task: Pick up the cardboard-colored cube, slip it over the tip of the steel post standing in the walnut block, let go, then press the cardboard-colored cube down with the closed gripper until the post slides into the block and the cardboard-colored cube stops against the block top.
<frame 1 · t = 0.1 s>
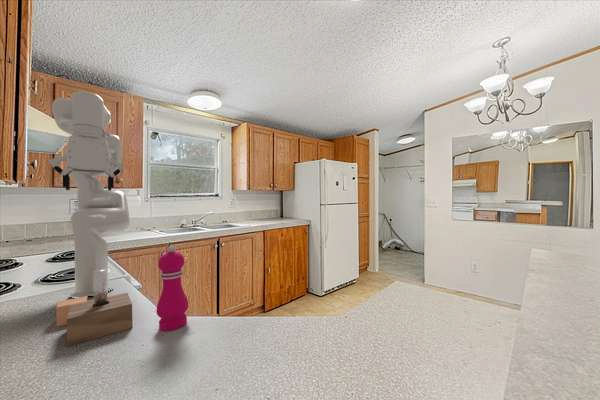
hand: (89, 189, 75), 37 cm above the countertop, tool pointing down, fingers open, 9 cm apart
cardboard-colored cube: (72, 319, 69), on the countertop
pepper mill: (173, 325, 62), on the countertop
post block: (101, 327, 63), on the countertop
post: (100, 288, 63), point 10 cm above the countertop, slide at 0.0 cm
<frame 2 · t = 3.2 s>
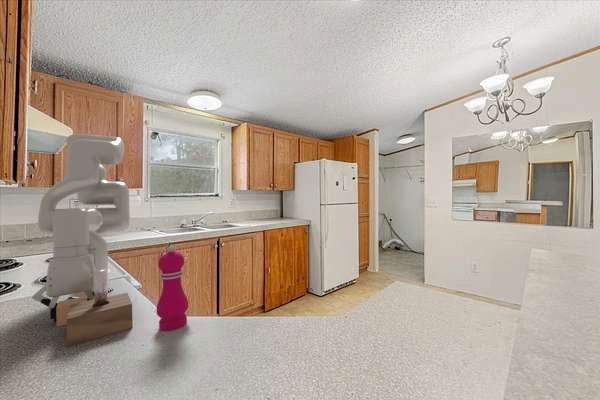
hand: (72, 316, 69), 1 cm above the countertop, tool pointing down, fingers closed on cardboard-colored cube, 6 cm apart
cardboard-colored cube: (72, 319, 69), on the countertop, touching gripper
everything else where it was.
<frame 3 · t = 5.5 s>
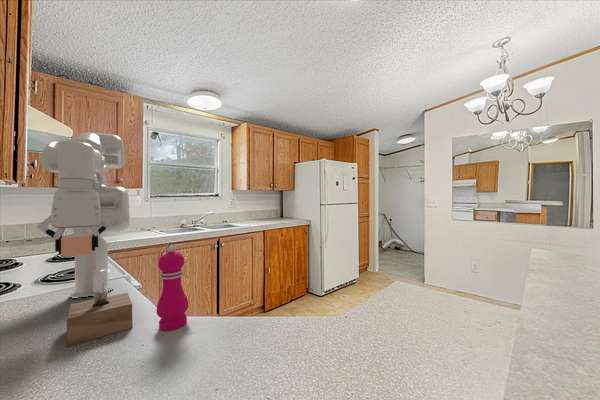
hand: (77, 251, 68), 19 cm above the countertop, tool pointing down, fingers closed on cardboard-colored cube, 6 cm apart
cardboard-colored cube: (77, 254, 67), point 18 cm above the countertop, touching gripper
everything else where it was.
when the fingers open (12 cm above the countertop, at t = 7.8 s): cardboard-colored cube drops 1 cm, resting on post.
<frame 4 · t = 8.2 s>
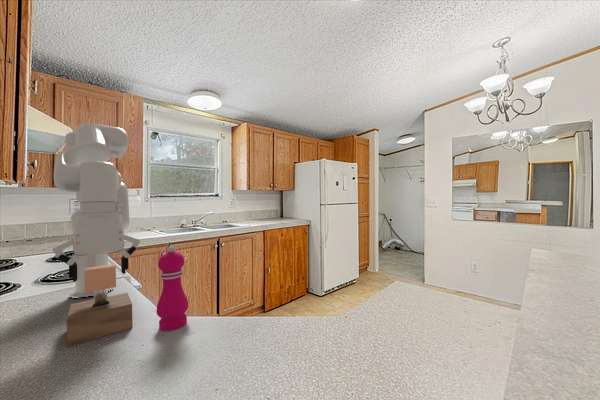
hand: (100, 276, 63), 13 cm above the countertop, tool pointing down, fingers open, 9 cm apart
cardboard-colored cube: (100, 287, 63), point 10 cm above the countertop, touching post
post: (100, 289, 63), point 10 cm above the countertop, slide at 0.3 cm, touching cardboard-colored cube
everything else where it was.
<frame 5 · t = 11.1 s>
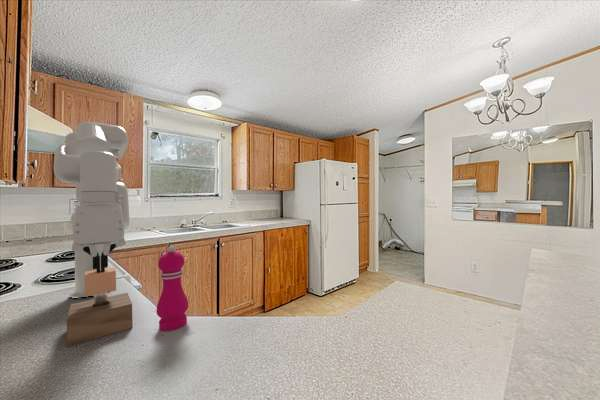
hand: (100, 271, 63), 14 cm above the countertop, tool pointing down, fingers closed
cardboard-colored cube: (100, 290, 63), point 9 cm above the countertop, touching gripper, post
post: (100, 292, 63), point 9 cm above the countertop, slide at 1.2 cm, touching cardboard-colored cube
everything else where it was.
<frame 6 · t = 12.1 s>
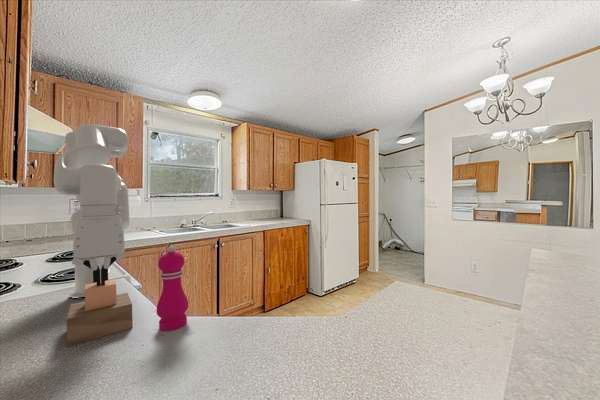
hand: (100, 284, 63), 11 cm above the countertop, tool pointing down, fingers closed
cardboard-colored cube: (101, 304, 63), point 6 cm above the countertop, touching gripper, post block
post: (101, 306, 63), point 5 cm above the countertop, slide at 4.5 cm
everything else where it was.
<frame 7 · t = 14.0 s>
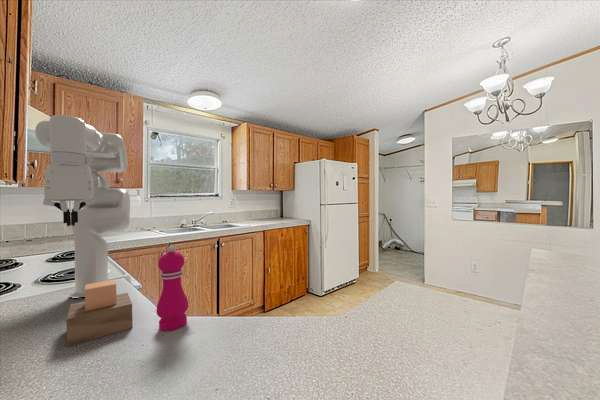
hand: (70, 225, 70), 26 cm above the countertop, tool pointing down, fingers closed
cardboard-colored cube: (101, 304, 63), point 6 cm above the countertop, touching post block
everything else where it was.
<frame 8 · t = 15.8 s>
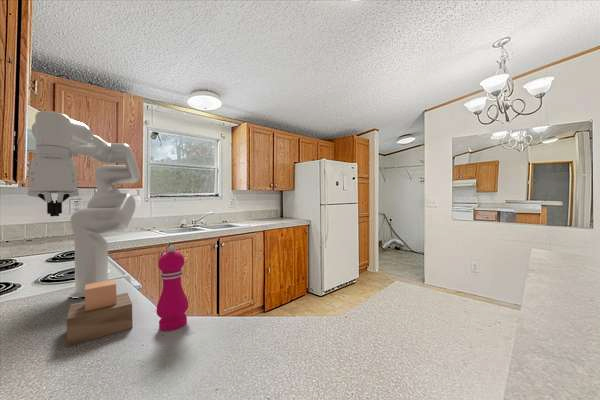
hand: (54, 216, 73), 29 cm above the countertop, tool pointing down, fingers closed
nothing on the countertop moved.
at the end: post slide at 4.5 cm; cardboard-colored cube 0.0 cm off-centre on the post block, point 6.0 cm above the post block's base; the gripper is holding nothing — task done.
